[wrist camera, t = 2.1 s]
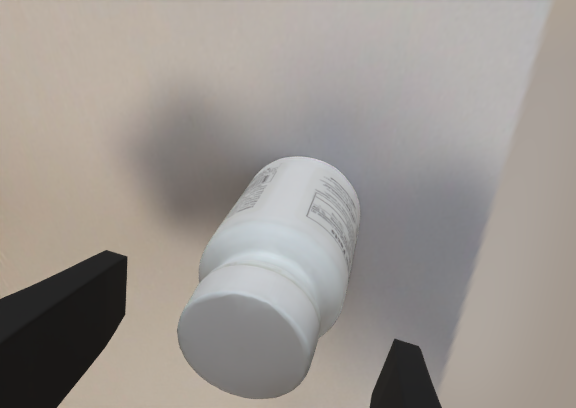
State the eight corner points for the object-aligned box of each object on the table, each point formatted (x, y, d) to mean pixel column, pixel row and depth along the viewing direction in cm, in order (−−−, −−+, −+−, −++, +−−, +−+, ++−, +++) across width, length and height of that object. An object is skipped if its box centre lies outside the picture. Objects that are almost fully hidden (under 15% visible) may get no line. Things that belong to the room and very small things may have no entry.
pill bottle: (247, 247, 20) (163, 394, 14) (248, 146, 18) (151, 260, 11) (354, 265, 19) (323, 431, 13) (369, 161, 17) (340, 294, 11)
